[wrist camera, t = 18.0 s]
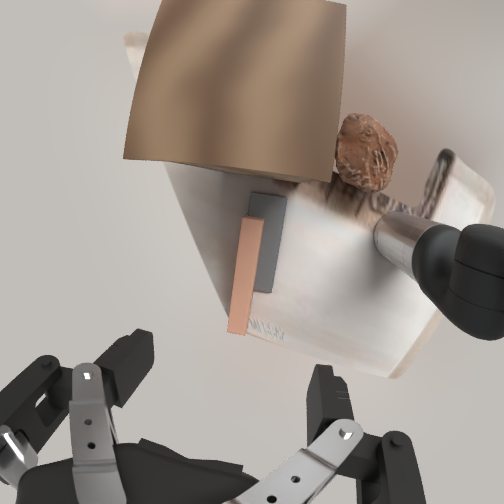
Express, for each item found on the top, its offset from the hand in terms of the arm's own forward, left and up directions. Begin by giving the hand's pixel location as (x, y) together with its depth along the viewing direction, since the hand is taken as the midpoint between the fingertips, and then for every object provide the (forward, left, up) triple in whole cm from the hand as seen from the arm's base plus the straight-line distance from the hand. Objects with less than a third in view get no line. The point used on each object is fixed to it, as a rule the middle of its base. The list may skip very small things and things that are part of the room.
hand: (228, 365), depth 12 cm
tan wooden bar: (+3, +9, -39) cm, 40 cm away
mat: (+1, +3, -40) cm, 40 cm away
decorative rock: (-14, -16, -40) cm, 45 cm away
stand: (+3, -16, -40) cm, 43 cm away
